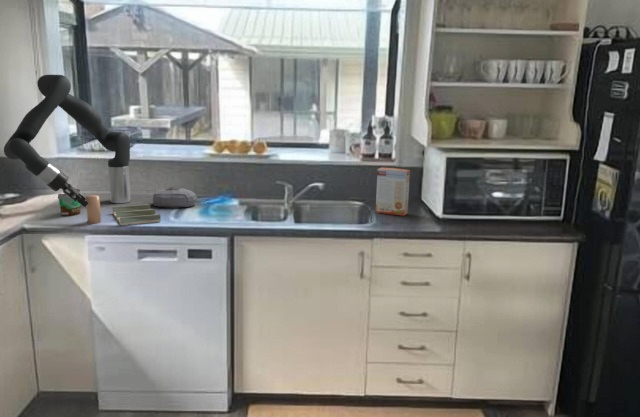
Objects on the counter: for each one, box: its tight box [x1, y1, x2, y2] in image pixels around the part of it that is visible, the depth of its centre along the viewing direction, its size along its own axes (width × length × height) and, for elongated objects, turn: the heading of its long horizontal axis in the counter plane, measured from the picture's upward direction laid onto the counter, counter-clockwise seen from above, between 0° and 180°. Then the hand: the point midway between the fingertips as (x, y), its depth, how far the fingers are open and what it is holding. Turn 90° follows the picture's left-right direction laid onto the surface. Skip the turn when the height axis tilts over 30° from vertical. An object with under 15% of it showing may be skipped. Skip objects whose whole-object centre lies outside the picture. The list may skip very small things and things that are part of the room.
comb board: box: [111, 203, 161, 226], centre depth 244 cm, size 21×16×3 cm
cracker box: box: [375, 167, 411, 217], centre depth 262 cm, size 14×6×21 cm, turn 65°
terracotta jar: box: [85, 194, 102, 225], centre depth 234 cm, size 5×5×11 cm
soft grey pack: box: [152, 186, 198, 209], centre depth 268 cm, size 15×8×20 cm
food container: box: [57, 188, 83, 217], centre depth 246 cm, size 12×6×10 cm, turn 168°
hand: (85, 202), depth 233 cm, fingers open, 8 cm apart
